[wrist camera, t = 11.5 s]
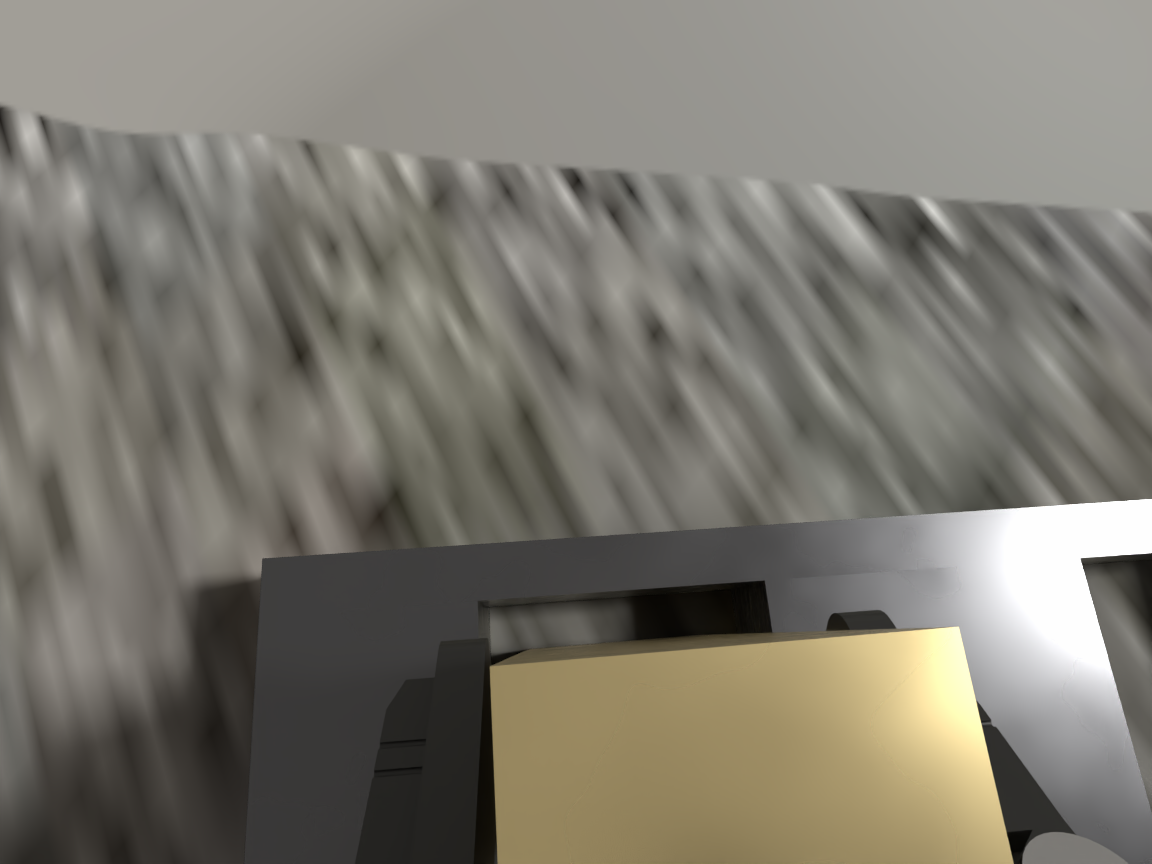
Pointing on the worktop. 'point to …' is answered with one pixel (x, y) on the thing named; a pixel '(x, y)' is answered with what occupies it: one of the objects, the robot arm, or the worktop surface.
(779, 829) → the brass peg
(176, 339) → the worktop surface
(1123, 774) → the grey peg board
